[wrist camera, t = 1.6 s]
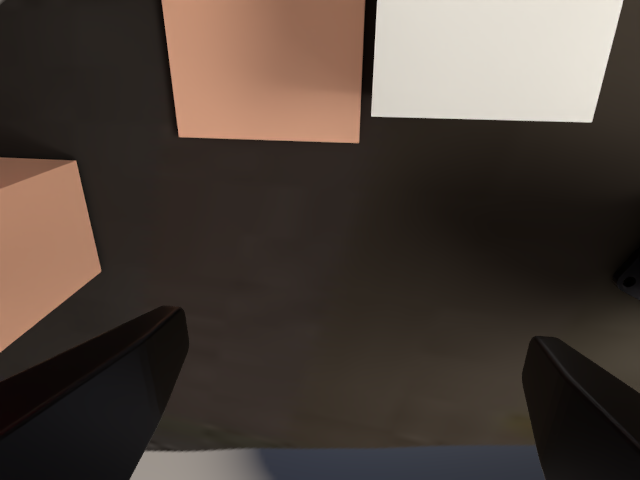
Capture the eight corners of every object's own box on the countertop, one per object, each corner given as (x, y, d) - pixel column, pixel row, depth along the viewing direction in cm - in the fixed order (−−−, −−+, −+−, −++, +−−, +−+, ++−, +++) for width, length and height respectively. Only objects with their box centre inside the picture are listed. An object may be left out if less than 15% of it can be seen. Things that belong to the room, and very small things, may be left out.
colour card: (366, -20, 16) (365, -22, 16) (359, 141, 19) (358, 143, 18) (163, -18, 17) (159, -19, 17) (182, 135, 20) (179, 137, 19)
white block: (562, -86, 15) (664, -162, 9) (527, 98, 17) (591, 122, 12) (385, -81, 16) (384, -149, 10) (375, 95, 18) (371, 116, 13)
